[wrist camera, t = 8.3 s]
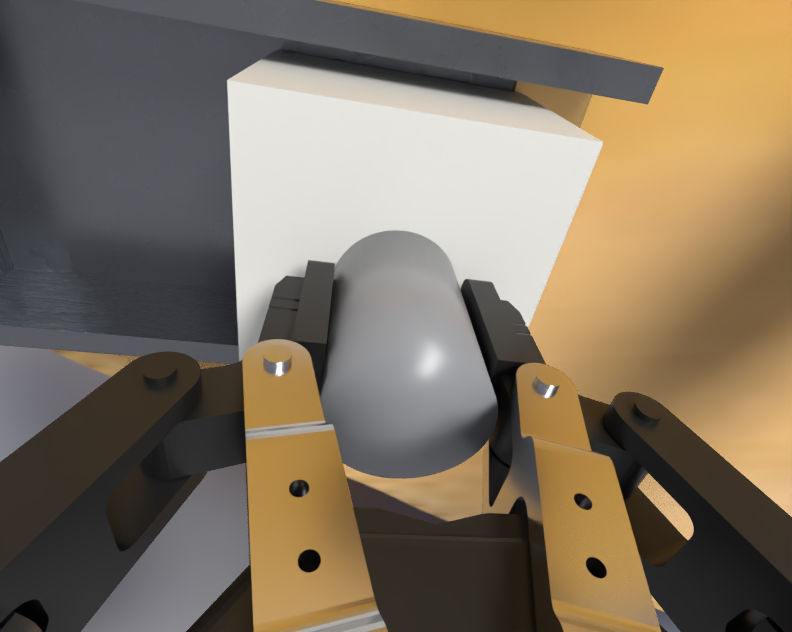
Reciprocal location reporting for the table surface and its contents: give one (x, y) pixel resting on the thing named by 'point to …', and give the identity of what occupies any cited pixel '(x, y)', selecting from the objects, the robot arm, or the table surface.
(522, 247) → the white knobbed block
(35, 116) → the bay
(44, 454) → the robot arm
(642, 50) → the table surface
